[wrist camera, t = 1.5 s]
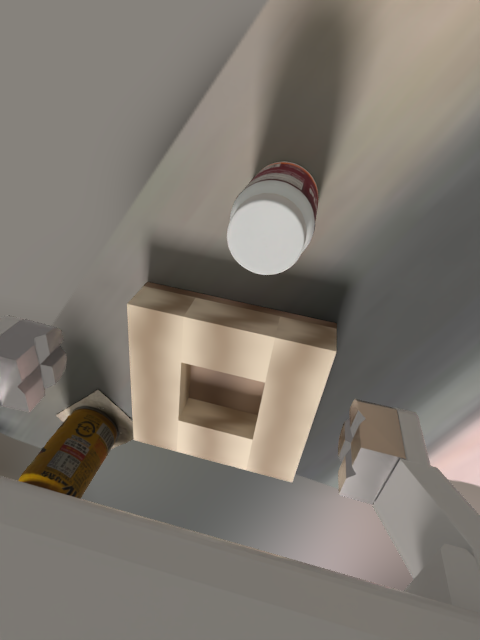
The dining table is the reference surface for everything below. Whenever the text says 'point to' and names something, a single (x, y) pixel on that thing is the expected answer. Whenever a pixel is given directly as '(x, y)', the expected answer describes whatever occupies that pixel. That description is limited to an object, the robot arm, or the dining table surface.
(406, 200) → the dining table surface
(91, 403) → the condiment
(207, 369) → the well block
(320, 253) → the dining table surface
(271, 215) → the pill bottle
